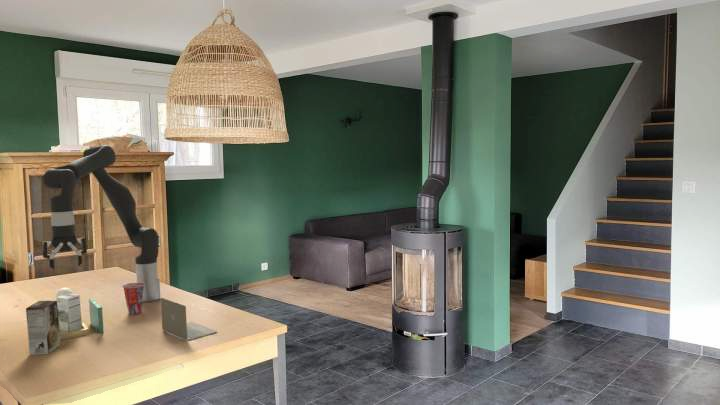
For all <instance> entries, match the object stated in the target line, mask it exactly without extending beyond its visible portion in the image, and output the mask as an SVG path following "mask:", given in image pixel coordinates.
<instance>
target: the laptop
mask: <svg viewBox="0 0 720 405" xmlns="http://www.w3.org/2000/svg"><path fill="white" fill-rule="evenodd" d="M186 306H187V305H184V304H181V303H179V302H175V301H172V300H169V299H167V298H163V297H160V308H161V327H162V332H164V333H167V334H168V335H170V336H174V337H176V338H178V339H181V340H183V341H185V342H189V341H193V340H197V339H199V338H203V337H206V336H209V335H212V334H214V333H215V334H216V333H217V332H218V331H217V330H215V329H212V328H209V327H207V326H204V325H201V324H199V323H196V322H194V321H190V322H187V307H186Z"/></svg>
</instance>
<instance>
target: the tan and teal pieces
mask: <svg viewBox="0 0 720 405" xmlns="http://www.w3.org/2000/svg"><path fill="white" fill-rule="evenodd" d="M88 304H89V317H90V318H89V319H90V320H89V321H90V325H91V327H93V329H94V330H95V331H96V332H97V333H98V334H99V335H102V334H104V316H103V306H102V305H101V304H99V303H98V302H97V301H96V300H95V299H94V298H90V299H88ZM89 330H90V329H89V327H88V326H87V325H86V323H84V322H82V329H81V330H76V331H71V332H65V333H60V341H61V340H65V339H71V338H77V337H81V336H87V335H90V331H89Z"/></svg>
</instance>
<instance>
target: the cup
mask: <svg viewBox="0 0 720 405" xmlns="http://www.w3.org/2000/svg"><path fill="white" fill-rule="evenodd" d="M122 288H123V292H124V298H125V302H126V308H127V313H128V315H133V316H135V315H140V314H141V313H142V311H143V288H144V283H137V282H130V283H126V284H123V285H122Z"/></svg>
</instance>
